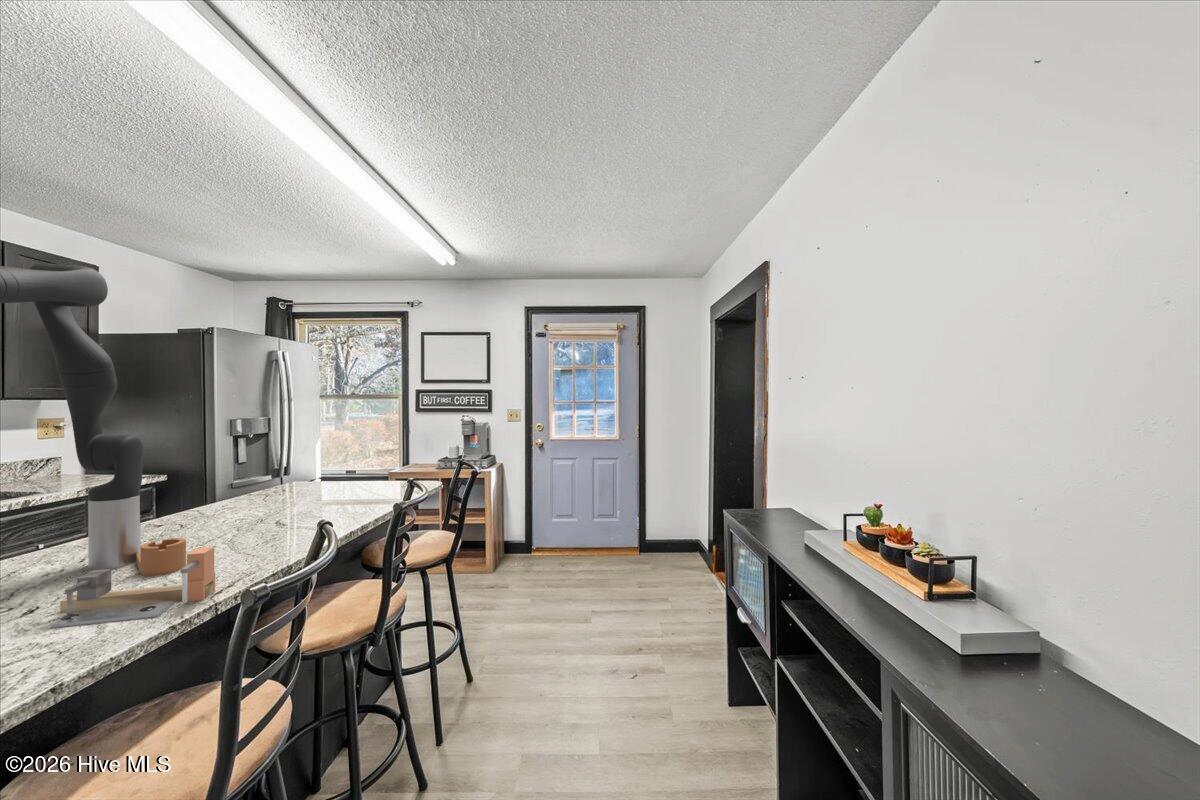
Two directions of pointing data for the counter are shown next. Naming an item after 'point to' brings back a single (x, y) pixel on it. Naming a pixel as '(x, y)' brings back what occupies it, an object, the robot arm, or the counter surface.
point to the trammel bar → (115, 593)
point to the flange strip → (113, 614)
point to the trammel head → (198, 574)
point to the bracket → (162, 557)
